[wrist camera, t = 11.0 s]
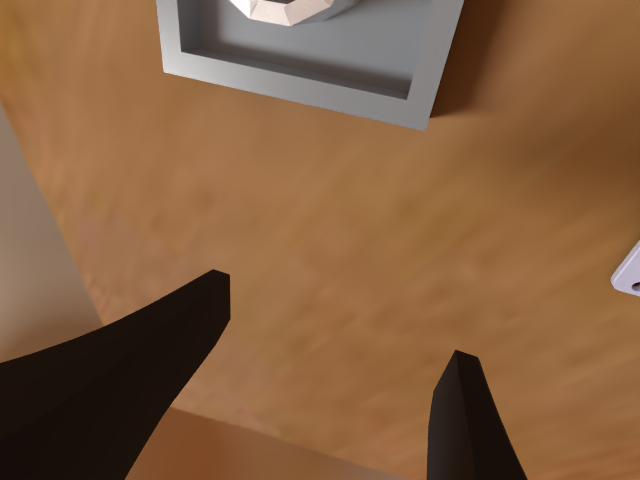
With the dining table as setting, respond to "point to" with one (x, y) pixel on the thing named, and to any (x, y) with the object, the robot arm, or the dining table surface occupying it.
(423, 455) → the dining table surface
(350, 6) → the ring
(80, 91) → the dining table surface
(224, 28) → the tray
